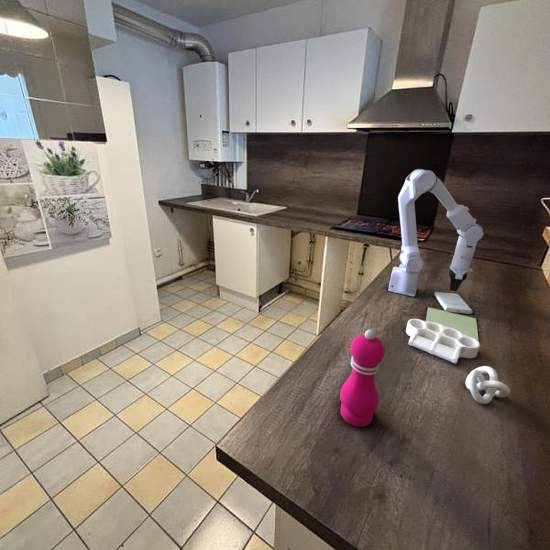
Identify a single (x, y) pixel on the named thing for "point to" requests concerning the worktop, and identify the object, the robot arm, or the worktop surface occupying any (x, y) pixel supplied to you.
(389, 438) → the worktop surface
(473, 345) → the white brass knuckles
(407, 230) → the robot arm
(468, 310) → the hard drive
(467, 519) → the worktop surface
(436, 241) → the worktop surface
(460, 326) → the mat
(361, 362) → the pepper mill
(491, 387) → the knot
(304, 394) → the worktop surface
